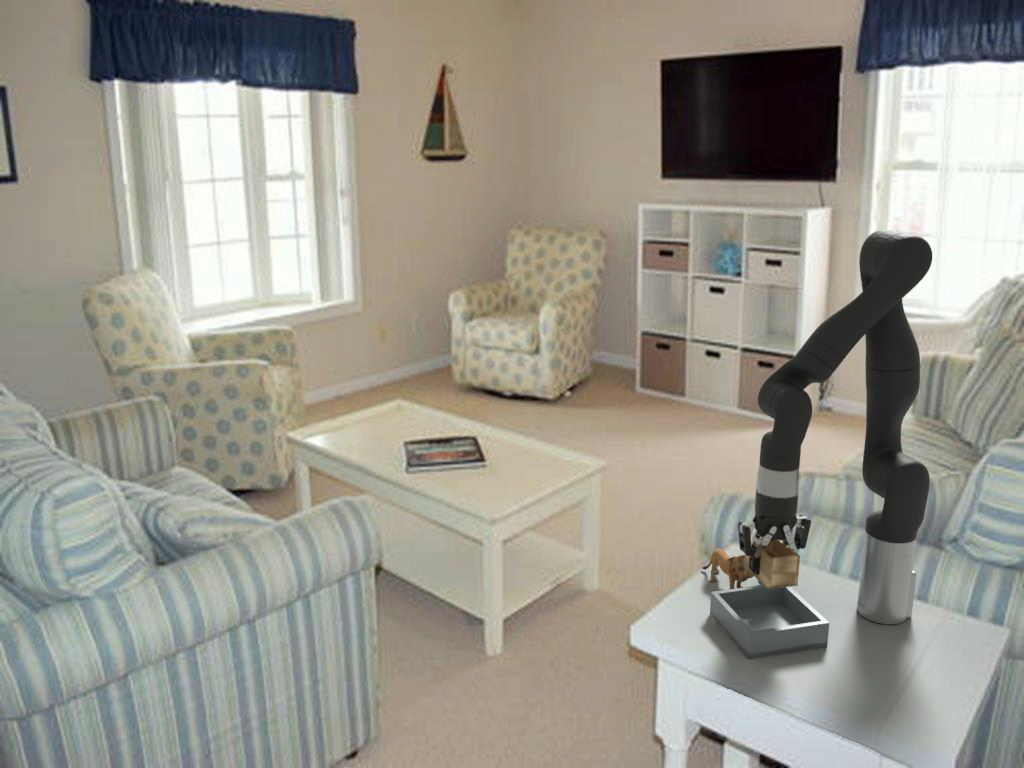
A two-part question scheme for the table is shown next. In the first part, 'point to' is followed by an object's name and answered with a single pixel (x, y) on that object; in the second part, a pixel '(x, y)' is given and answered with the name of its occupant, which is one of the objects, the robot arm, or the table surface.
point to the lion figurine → (729, 567)
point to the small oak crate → (777, 565)
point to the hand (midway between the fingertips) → (770, 570)
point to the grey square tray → (768, 620)
